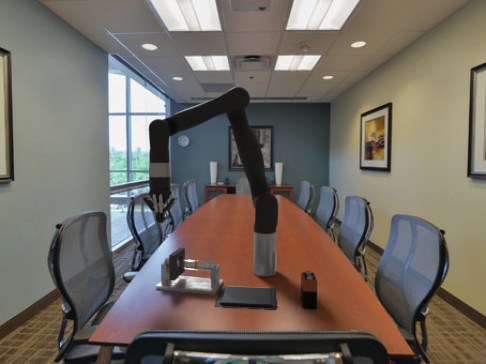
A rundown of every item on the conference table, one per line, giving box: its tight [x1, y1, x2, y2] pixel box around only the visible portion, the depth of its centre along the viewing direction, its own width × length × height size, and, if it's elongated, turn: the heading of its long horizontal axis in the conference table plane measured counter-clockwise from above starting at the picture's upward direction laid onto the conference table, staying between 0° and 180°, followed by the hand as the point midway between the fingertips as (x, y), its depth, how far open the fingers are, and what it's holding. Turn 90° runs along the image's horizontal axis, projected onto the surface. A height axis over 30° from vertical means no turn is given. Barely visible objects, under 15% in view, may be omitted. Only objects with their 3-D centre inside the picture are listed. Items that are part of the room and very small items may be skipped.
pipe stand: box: [155, 257, 224, 296], centre depth 101 cm, size 22×10×10 cm, turn 78°
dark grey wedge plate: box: [168, 247, 186, 281], centre depth 102 cm, size 2×9×9 cm, turn 168°
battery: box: [300, 269, 318, 310], centre depth 88 cm, size 4×7×10 cm, turn 174°
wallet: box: [214, 285, 279, 311], centre depth 93 cm, size 20×2×15 cm
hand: (160, 222), depth 102 cm, fingers closed
